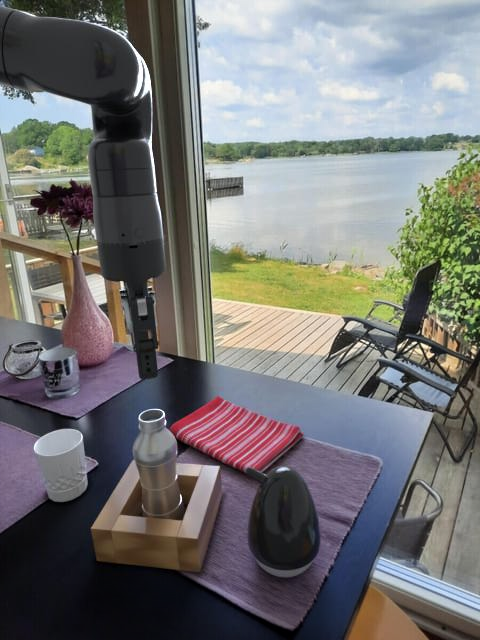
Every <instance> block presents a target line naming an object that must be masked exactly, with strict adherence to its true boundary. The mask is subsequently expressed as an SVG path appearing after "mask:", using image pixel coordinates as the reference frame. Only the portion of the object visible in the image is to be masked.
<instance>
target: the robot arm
mask: <svg viewBox="0 0 480 640" xmlns="http://www.w3.org/2000/svg"><path fill="white" fill-rule="evenodd" d="M0 86H4V87H8V88H11V89H16V90H20V91H25V92H29V93H48V94H50V95H55V96H58V97H62V98H66V99H68V100H72V101H76V102H79V103H83V104H86V105H89V106H90V109H91V110H90V111H91V120H92V133H93V134H92V135H93V136H92V137H93V138H92V140H91V142H90V143H89V145H88V147H87V165H88V173H89V179H90V181H89V182H90V186H91V187H90V188H91V195H92V216H93V226H94V232H95V233H94V234H95V239H96V246H97V247H96V248H97V255H98V259H99V267H100V274H101V277H102V278H103V279H104V280H107V281H109V282H115V283H119V282H122V283H123V289H119V290H118V291H119V299H120V303H121V309H122V311H123V314H124V317H125V323H126V329H127V332H128V333H130V335H131V336H130V337H131V344H132V350H133V352H134V353H135V355H136V364H137V371H138V377H139V379H140V380H142V381H145V380H151V379H156V378H157V377H158V376H159V369H158V359H157V352H156V351H157V350H158V349H159V346H160V341H159V340H158V332H157V328H158V318H157V312H156V304H157V298H156V293H155V291H153V286H148V281H149V280H151V279H156V278H159V277H161V276H163V275H164V274H165V273H166V272H167V261H166V251H165V241H164V231H163V230H164V229H163V221H162V212H161V208H160V204H159V203H160V202H159V198H158V193H157V192H158V190H157V180H156V169H155V162H154V155H153V149H152V138H153V137H152V134H153V97H152V85H151V77H150V73H149V69H148V67H147V64H146V62H145V60H144V59H143V57H142V56H141V54H140V53H139V52H138V51H137V49H136V48H134V46H133V45H132V43H131V42H130V41H129V40H128V39H127V38H126V37H125V36H124V35H122V34H121V33H119V32H118V31H116V30H114V29H112V28H109V27H106V26H103V25H100V24H97V23H94V22H88V21H85V20H78V19H70V18H59V17H52V16H51V17H50V16H38V15H35V14H31V13H29V12H26V11H22V10H19V9H15V8H11V7H7V6H5V5H0Z"/></svg>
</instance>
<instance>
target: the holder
mask: <svg viewBox="0 0 480 640" xmlns="http://www.w3.org/2000/svg"><path fill="white" fill-rule="evenodd" d="M176 467H177V482H178V486H179V491H180V495H181V497H182V500H183V503H184V506H185V505H186V506H187V507H186V510H185V511H184V518H183V521H180V520H169V519H158V518H148V517H142V516H141V515H142V504H143V500H142V486H141V481H140V476H139V472H138V469H137V466H136V463H135V460H134V459H132V461H131V462H130V464H129V465H128V467H127V469H126V470H125V472H124V474H123V475H122V477H121V478H120V480H119V481H118V483H117V485H116V487H115V488H114V490H113V491H112V493H111V495H110V496H109V498H108V500H107V501H106V503H105V504H104V506H103V508H102V510H101V511H100V513H99V514H98V516H97V517H96V519H95V521H94V523H93V524H92V526H91V527H90V531H91V537H92V542H93V548H94V552H95V558H96V561H97V562H102V563H113V564H123V565H130V566H141V567H149V568H157V569H168V570H177V571H184V572H185V571H186V572H193V573H201V571H202V568H203V565H204V562H205V561H204V560H205V557H206V554H207V550H208V546H209V543H210V540H211V539H210V538H211V536H212V533H213V529H214V526H215V521H216V517H217V515H218V511H219V507H220V504H221V500H222V497H223V489H222V473H221V471H222V470H221V466H220V465H210V464H209V465H208V464H199V463H198V464H197V463H182V462H176Z"/></svg>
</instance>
